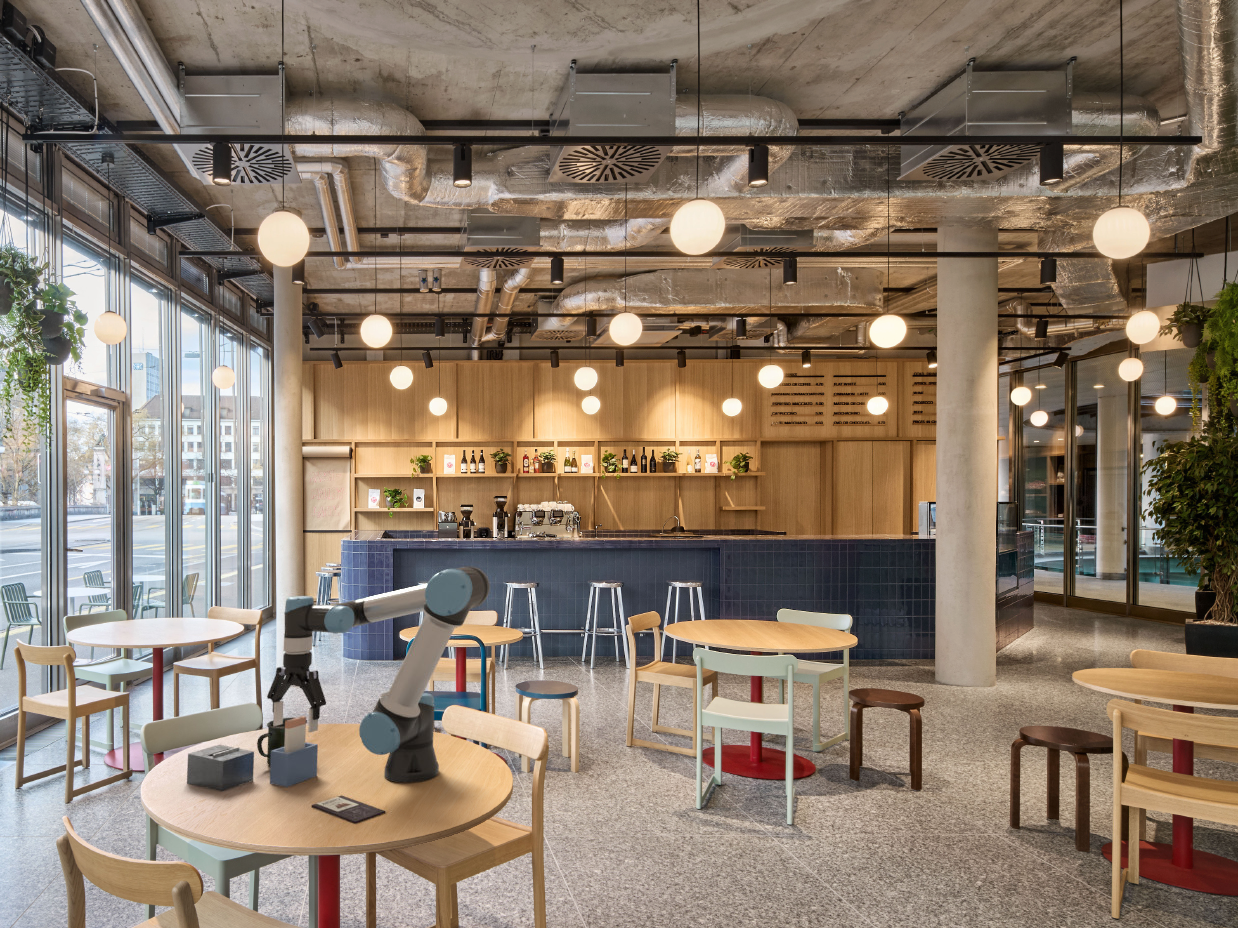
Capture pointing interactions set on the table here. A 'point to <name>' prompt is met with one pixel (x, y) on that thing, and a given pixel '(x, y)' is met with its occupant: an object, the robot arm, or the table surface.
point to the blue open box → (293, 765)
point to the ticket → (295, 734)
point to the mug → (273, 738)
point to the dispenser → (220, 767)
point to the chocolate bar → (348, 809)
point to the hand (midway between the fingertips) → (295, 727)
